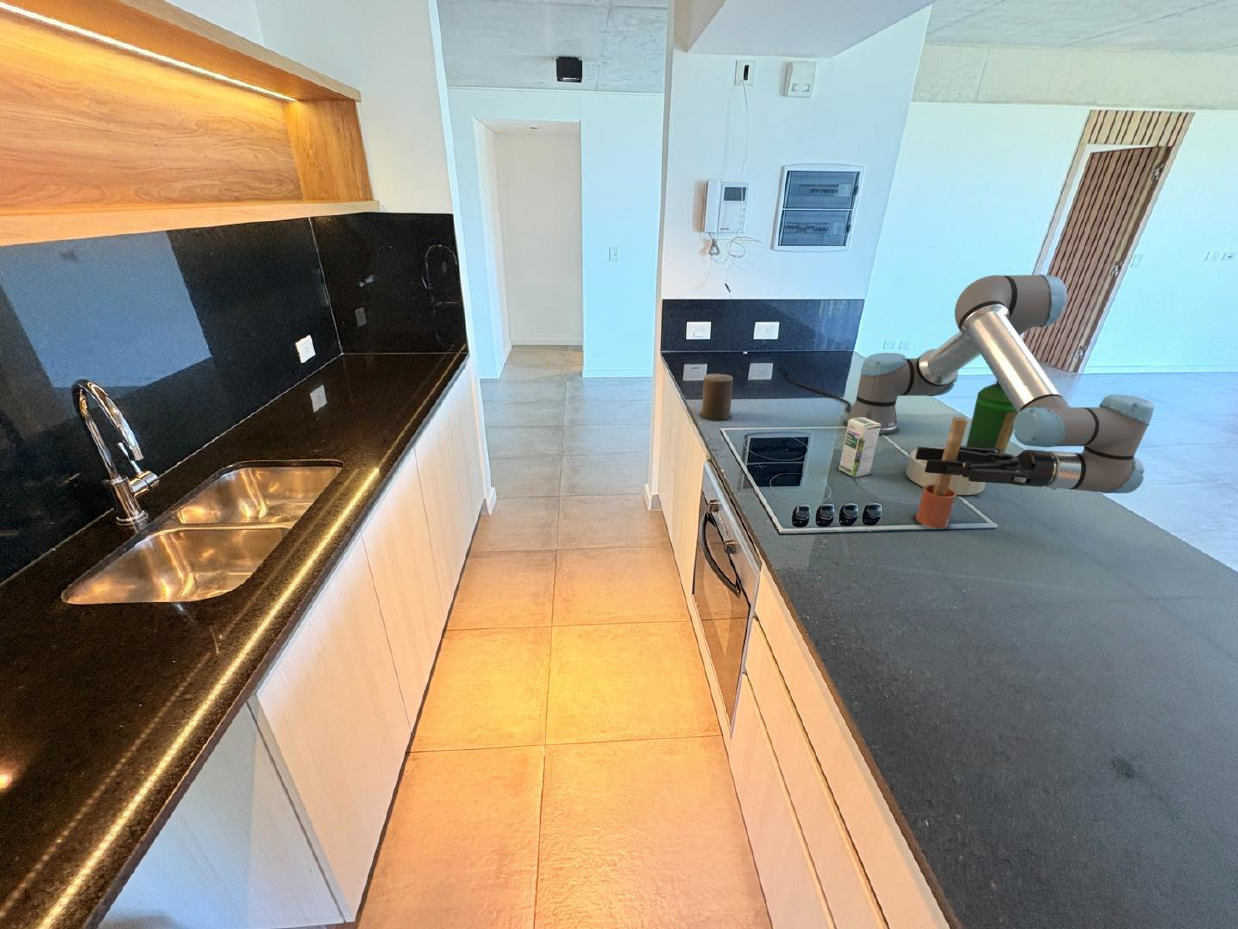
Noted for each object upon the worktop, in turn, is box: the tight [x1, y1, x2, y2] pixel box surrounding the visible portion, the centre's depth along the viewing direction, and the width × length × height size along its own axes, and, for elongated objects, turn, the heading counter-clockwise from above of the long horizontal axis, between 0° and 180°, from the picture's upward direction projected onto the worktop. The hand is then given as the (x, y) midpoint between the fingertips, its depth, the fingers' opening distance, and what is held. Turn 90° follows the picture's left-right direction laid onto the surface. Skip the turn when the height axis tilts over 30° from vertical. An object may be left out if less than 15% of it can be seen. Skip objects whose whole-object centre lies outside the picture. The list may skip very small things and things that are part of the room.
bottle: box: [965, 379, 1018, 463], centre depth 142 cm, size 11×11×28 cm
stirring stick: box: [932, 416, 968, 497], centre depth 112 cm, size 3×2×24 cm, turn 78°
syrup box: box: [838, 417, 881, 478], centre depth 138 cm, size 6×6×14 cm
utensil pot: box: [915, 484, 958, 529], centre depth 116 cm, size 6×6×8 cm
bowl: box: [905, 446, 987, 496], centre depth 135 cm, size 18×18×6 cm
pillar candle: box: [700, 373, 734, 422], centre depth 179 cm, size 10×10×15 cm
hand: (922, 459), depth 112 cm, fingers open, 6 cm apart
